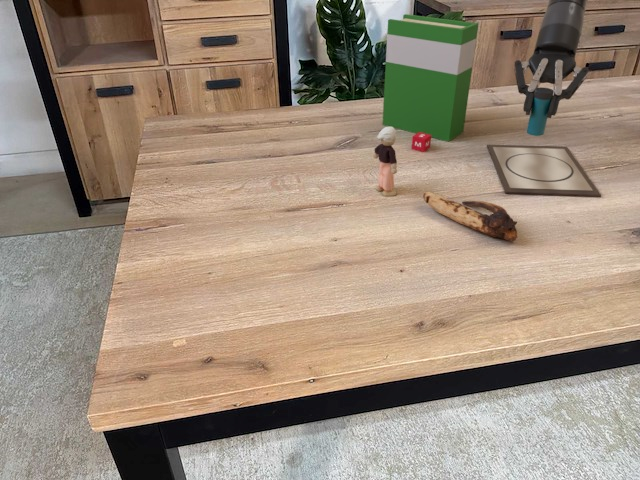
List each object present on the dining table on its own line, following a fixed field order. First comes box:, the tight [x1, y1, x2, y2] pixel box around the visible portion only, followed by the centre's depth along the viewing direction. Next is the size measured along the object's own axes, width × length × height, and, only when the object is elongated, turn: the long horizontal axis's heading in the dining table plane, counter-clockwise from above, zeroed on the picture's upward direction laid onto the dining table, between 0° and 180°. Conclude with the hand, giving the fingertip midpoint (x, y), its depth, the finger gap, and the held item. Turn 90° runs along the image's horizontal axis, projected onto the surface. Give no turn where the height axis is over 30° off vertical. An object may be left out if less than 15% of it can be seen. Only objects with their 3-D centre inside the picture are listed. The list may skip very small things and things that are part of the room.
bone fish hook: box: [422, 191, 519, 242], centre depth 91 cm, size 9×5×18 cm
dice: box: [411, 132, 432, 153], centre depth 117 cm, size 3×3×3 cm
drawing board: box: [486, 144, 602, 198], centre depth 108 cm, size 17×22×1 cm
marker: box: [526, 87, 554, 137], centre depth 102 cm, size 3×3×8 cm
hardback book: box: [382, 13, 479, 142], centre depth 121 cm, size 18×7×24 cm, turn 52°
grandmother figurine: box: [372, 126, 398, 197], centre depth 98 cm, size 8×4×13 cm, turn 35°
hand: (538, 114), depth 101 cm, fingers closed on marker, 3 cm apart
